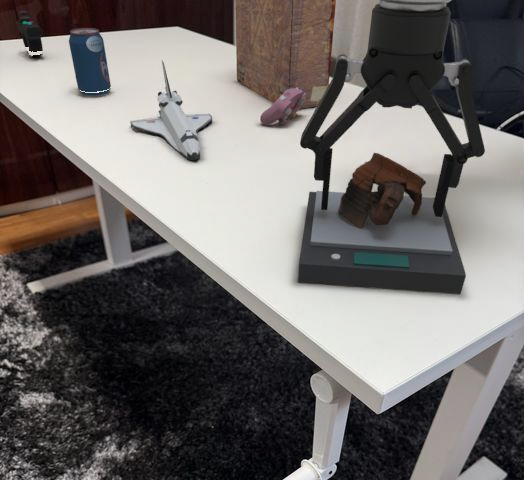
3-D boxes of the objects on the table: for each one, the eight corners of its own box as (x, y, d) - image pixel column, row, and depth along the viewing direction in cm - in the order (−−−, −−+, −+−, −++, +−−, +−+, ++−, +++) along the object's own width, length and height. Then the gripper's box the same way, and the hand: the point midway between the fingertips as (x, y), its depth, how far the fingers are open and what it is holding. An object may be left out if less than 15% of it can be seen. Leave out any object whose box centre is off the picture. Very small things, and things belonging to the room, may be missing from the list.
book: (236, 81, 126) (232, -84, 107) (271, 76, 129) (274, -84, 110) (288, 111, 109) (295, -79, 90) (327, 105, 112) (342, -79, 93)
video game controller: (275, 136, 102) (291, 104, 97) (256, 121, 102) (271, 88, 97) (298, 122, 109) (315, 91, 103) (281, 108, 109) (296, 76, 104)
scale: (439, 216, 74) (444, 194, 72) (460, 294, 60) (467, 270, 58) (308, 208, 76) (309, 187, 74) (297, 282, 61) (299, 258, 59)
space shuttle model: (148, 168, 86) (139, 101, 80) (127, 120, 104) (119, 62, 98) (241, 157, 90) (240, 93, 84) (205, 112, 108) (202, 57, 102)
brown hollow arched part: (327, 203, 71) (360, 143, 68) (388, 235, 73) (422, 178, 70) (342, 223, 60) (382, 153, 57) (413, 260, 62) (455, 194, 59)
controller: (39, 51, 148) (29, 9, 142) (50, 61, 140) (40, 16, 134) (23, 53, 146) (12, 10, 140) (33, 63, 138) (22, 18, 132)
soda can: (115, 95, 117) (105, 32, 109) (83, 99, 114) (70, 35, 107) (107, 87, 121) (97, 26, 114) (76, 91, 119) (63, 28, 111)
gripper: (536, 0, 54) (479, 201, 68) (287, -6, 56) (281, 189, 70) (558, 13, 48) (491, 229, 62) (280, 6, 50) (275, 216, 64)
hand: (380, 208), depth 66 cm, fingers open, 13 cm apart
